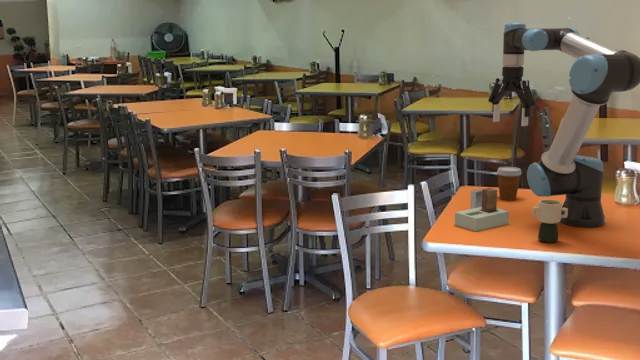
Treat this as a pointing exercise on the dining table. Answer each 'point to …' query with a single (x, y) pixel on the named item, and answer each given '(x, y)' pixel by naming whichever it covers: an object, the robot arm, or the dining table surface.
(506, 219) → the socket block
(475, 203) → the grey upright tile
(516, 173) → the disposable coffee cup
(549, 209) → the character mug
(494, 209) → the walnut peg
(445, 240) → the dining table surface
